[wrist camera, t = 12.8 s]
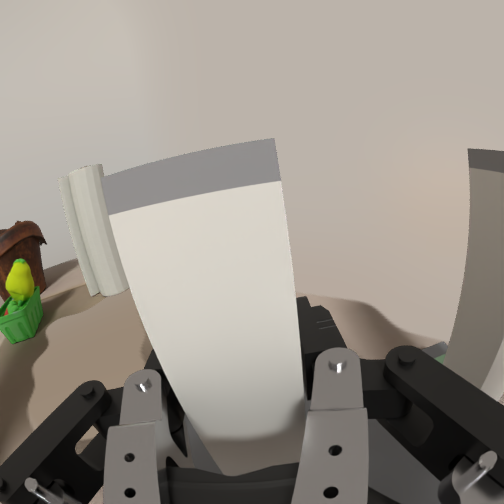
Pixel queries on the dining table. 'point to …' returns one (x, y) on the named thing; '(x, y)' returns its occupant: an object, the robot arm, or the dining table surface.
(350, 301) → the dining table surface
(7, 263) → the case
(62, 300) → the dining table surface
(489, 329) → the twin pillar stand
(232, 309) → the handle
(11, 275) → the fruit basket
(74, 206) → the paper towel roll
